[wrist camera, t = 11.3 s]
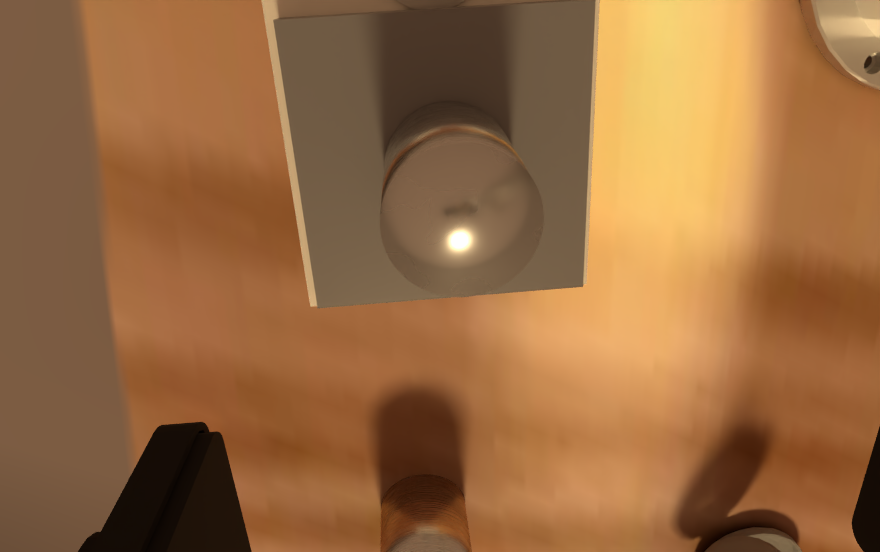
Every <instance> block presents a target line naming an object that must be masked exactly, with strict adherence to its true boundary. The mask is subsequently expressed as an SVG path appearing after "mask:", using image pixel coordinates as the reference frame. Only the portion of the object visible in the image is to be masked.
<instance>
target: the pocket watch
mask: <svg viewBox="0 0 880 552" xmlns="http://www.w3.org/2000/svg"><path fill="white" fill-rule="evenodd" d="M705 552H802V551H801V549H800V548H799V546H798V545H797V543H796V542H795V541H794V540H793V538H791V537H790V536H789V535H788V534H786V533H784V532H782V531H780V530H777V529H774V528H761V527H751V528H747V529H742V530H738V531H735V532H733V533H730V534H728V535H725V536H724V537H722V538H721V539H719V540H717V541H716V542H714V543H713V544H712V545H711V546H710V547H709V548H708V549H707V550H706V551H705Z"/></svg>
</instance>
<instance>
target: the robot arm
mask: <svg viewBox="0 0 880 552" xmlns="http://www.w3.org/2000/svg"><path fill="white" fill-rule="evenodd" d="M800 5H801V11H802V14H803V17H804V19H805V22H806V25H807V28H808V30H809V33H810V36H811V38H812V39H813V41H814V42H815V44H816V45H817V47H818V49H819V50H820V52H821V53H822V55H823V56H824V58H825V59H826V60H827V61H828V62H829V63H831V64H832V65H833V66H834V67H835V68H836V69H837V70H838V71H839V72H840V73H841V74H842V75H844V76H846V77H848V78H850V79H852V80H853V81H855V82H857V83H859V84H861V85H863V86H865V87H869V88H873V89H876V90H880V0H800ZM852 529H853V533H854V536H855V538H856V541H857V543H858V544H859V546H860V547H861V549H862V550H863V551H864V552H880V427H879V431H878V434H877V437H876V441H875V444H874V447H873V451H872V454H871V457H870V461H869V464H868V467H867V471H866V474H865V478H864V481H863V484H862V488H861V491H860V494H859V498H858V501H857V504H856V508H855V511H854V515H853V518H852ZM78 552H251V548H250V544H249V540H248V536H247V532H246V528H245V524H244V520H243V516H242V512H241V508H240V504H239V500H238V496H237V492H236V488H235V484H234V480H233V476H232V472H231V468H230V464H229V460H228V456H227V452H226V448H225V444H224V440H223V438H222V435H221V434H220V432H209V429H208V427H207V425H206V424H205V423H203V422H195V423H182V424H169V425H161V426H159V427H158V428H157V429H156V430H155V432H154V433H153V435H152V437H151V439H150V441H149V443H148V444H147V446H146V448H145V450H144V452H143V454H142V456H141V458H140V459H139V461H138V463H137V465H136V467H135V469H134V471H133V473H132V474H131V476H130V478H129V480H128V482H127V484H126V486H125V488H124V489H123V491H122V493H121V495H120V497H119V499H118V501H117V502H116V505H115V506H114V508H113V510H112V512H111V514H110V516H109V517H108V519H107V521H106V523H105V525H104V527H103V529H102V531H101V532H96V533H94V534H92V535H91V536H90V537H88V538H87V539H86V541H85V542H84V543H83V545H82V546H81V548H80V549H79V551H78Z"/></svg>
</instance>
